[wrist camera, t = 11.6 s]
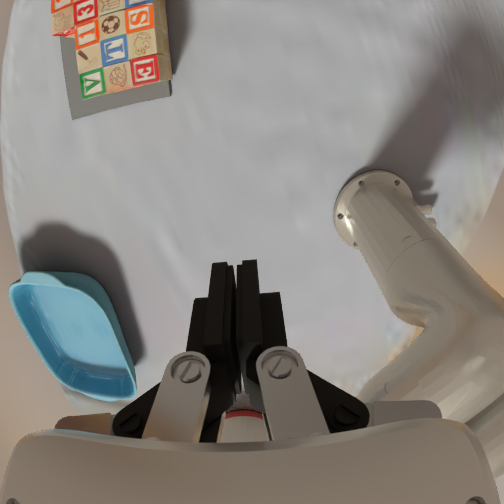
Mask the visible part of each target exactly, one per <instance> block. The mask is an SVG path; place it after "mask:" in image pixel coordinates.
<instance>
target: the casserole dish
mask: <svg viewBox="0 0 504 504" xmlns="http://www.w3.org/2000/svg"><path fill="white" fill-rule="evenodd" d="M9 298H10V302H11V304H12V307H13V309H14V312H15V314H16V316H17V318H18V320H19V322H20V323H21V325H22V327H23V329H24V331H25V332H26V334H27V336H28V338H29V339H30V341H31V343H32V344H33V346H34V347H35V349H36V351H37V352H38V354H39V356H40V357H41V359H42V360H43V362H44V363H45V365H46V366H47V367H48V369H49V370H50V371H51V373H52V374H53V375H54V376H55V377H56V378H57V379H58V380H59V381H60V382H61V383H63V384H64V385H66V386H67V387H69V388H71V389H73V390H76V391H79V392H81V393H83V394H86V395H88V396H90V397H93V398H95V399H99V400H104V401H117V400H119V399H130V398H133V397H135V395H136V393H137V386H136V374H135V368H134V364H133V361H132V358H131V355H130V352H129V350H128V347H127V344H126V342H125V339H124V336H123V333H122V330H121V327H120V325H119V322H118V319H117V316H116V313H115V310H114V308H113V306H112V303H111V301H110V299H109V297H108V295H107V293H106V292H105V290H104V289H103V287H102V286H101V285H100V284H99V283H98V282H97V281H96V280H95V279H93V278H91V277H89V276H87V275H85V274H81V273H75V272H51V271H28V272H26V273H24V274H23V276H22V278H21V279H19V280H18V281H16V282H14V283H13V284H11V285H10V287H9Z"/></svg>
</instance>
